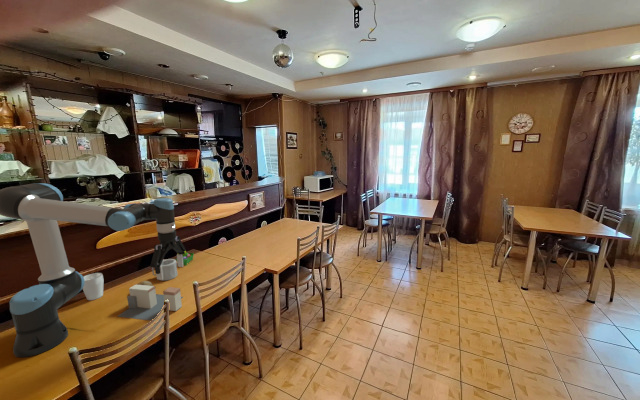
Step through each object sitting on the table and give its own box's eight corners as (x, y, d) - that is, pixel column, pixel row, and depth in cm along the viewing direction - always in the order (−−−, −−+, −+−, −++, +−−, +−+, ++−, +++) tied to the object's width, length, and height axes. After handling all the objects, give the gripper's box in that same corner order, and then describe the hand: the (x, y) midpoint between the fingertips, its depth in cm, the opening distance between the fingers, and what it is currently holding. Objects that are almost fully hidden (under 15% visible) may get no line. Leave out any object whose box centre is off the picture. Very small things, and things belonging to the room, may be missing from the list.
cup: (92, 302, 131) (89, 281, 129) (79, 300, 133) (75, 279, 130) (110, 293, 140) (107, 273, 137) (97, 291, 141) (93, 271, 139)
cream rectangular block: (149, 310, 124) (146, 291, 122) (128, 307, 126) (125, 289, 124) (159, 302, 131) (156, 284, 129) (139, 300, 132) (137, 282, 130)
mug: (179, 271, 165) (177, 257, 164) (175, 279, 155) (174, 264, 154) (155, 274, 161) (153, 260, 159) (150, 282, 151) (148, 267, 149)
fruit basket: (186, 266, 173) (185, 251, 171) (174, 266, 174) (172, 250, 171) (195, 259, 185) (193, 245, 183) (183, 259, 185) (181, 244, 183)
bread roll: (153, 299, 141) (158, 285, 142) (132, 299, 133) (138, 284, 134) (148, 292, 147) (153, 279, 149) (128, 291, 140) (133, 277, 141)
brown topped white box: (176, 311, 123) (174, 292, 121) (165, 309, 124) (163, 291, 122) (182, 306, 127) (180, 288, 125) (171, 305, 128) (169, 287, 126)
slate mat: (154, 322, 116) (154, 320, 116) (117, 317, 119) (117, 316, 119) (183, 297, 136) (183, 296, 136) (151, 294, 139) (150, 293, 139)
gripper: (152, 240, 105) (157, 286, 109) (191, 224, 130) (194, 262, 134) (136, 239, 106) (142, 284, 110) (178, 223, 131) (181, 261, 135)
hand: (171, 272), depth 122 cm, fingers open, 13 cm apart
